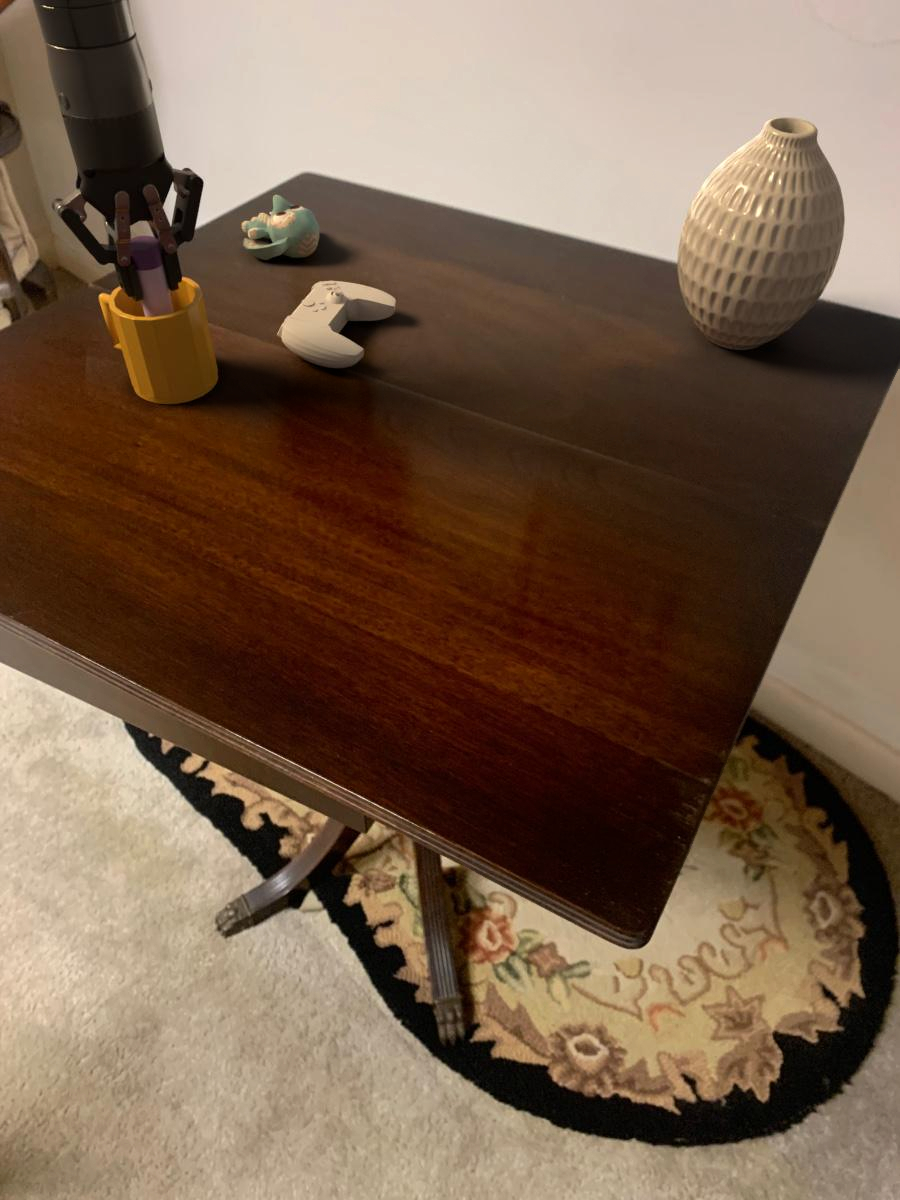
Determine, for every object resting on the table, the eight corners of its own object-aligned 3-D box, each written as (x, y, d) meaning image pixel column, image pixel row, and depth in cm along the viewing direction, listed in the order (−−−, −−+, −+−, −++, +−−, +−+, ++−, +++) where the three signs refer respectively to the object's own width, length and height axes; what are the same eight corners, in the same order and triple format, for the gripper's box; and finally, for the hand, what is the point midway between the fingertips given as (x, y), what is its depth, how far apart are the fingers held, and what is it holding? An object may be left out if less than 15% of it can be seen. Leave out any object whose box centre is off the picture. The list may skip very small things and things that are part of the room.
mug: (234, 369, 95) (219, 286, 88) (185, 413, 89) (164, 328, 82) (145, 342, 98) (123, 260, 91) (92, 383, 92) (64, 299, 85)
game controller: (357, 355, 91) (267, 320, 91) (351, 389, 94) (265, 355, 95) (404, 289, 100) (322, 257, 101) (397, 322, 104) (318, 291, 104)
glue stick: (148, 347, 88) (122, 250, 81) (152, 331, 90) (128, 235, 83) (179, 346, 89) (156, 249, 81) (182, 330, 91) (160, 234, 83)
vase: (637, 309, 104) (676, 104, 88) (758, 290, 108) (816, 89, 92) (704, 384, 94) (762, 168, 78) (835, 360, 98) (917, 148, 81)
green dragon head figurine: (270, 177, 115) (335, 184, 108) (284, 233, 120) (347, 243, 113) (206, 204, 109) (270, 213, 103) (224, 262, 114) (286, 274, 107)
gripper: (167, 70, 78) (204, 258, 91) (5, 100, 72) (69, 296, 85) (203, 95, 74) (237, 288, 87) (35, 129, 68) (97, 330, 81)
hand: (153, 291), depth 86 cm, fingers closed on glue stick, 3 cm apart
